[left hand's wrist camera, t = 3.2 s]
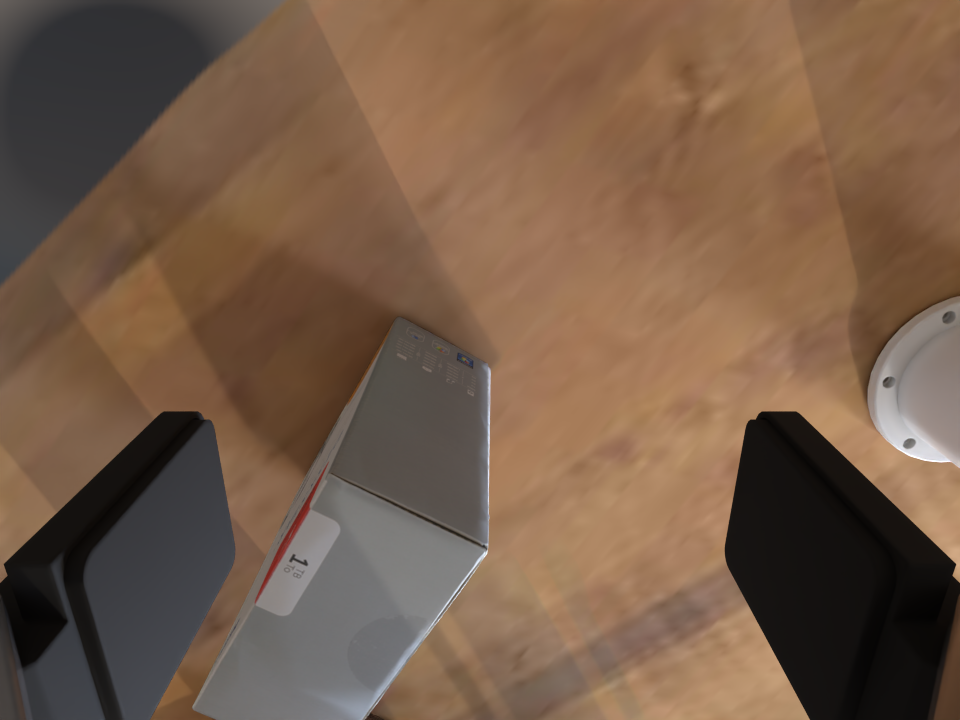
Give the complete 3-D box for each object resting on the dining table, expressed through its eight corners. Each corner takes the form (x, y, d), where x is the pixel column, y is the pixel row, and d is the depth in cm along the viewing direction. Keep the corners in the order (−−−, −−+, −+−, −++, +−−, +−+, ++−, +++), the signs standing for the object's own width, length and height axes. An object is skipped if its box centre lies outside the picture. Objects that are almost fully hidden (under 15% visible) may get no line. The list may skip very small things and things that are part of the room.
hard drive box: (396, 310, 43) (332, 466, 24) (492, 364, 44) (502, 549, 26) (300, 479, 48) (186, 715, 29) (389, 522, 49) (335, 773, 31)
